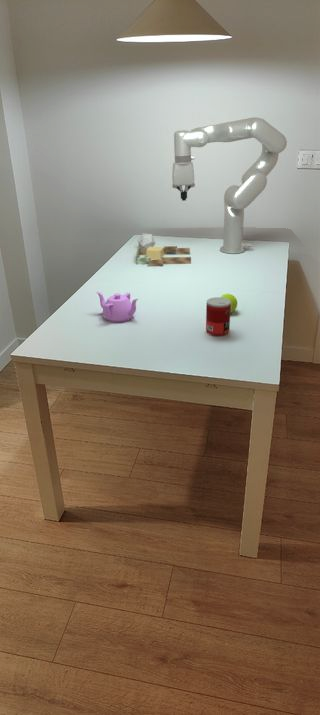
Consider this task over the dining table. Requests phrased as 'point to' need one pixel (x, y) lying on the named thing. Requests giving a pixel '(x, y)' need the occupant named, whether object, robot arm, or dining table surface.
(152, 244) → the die
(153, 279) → the dining table surface
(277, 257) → the dining table surface
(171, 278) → the dining table surface
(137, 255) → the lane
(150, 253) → the block
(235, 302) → the tennis ball
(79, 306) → the dining table surface
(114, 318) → the teapot
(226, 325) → the canned food
